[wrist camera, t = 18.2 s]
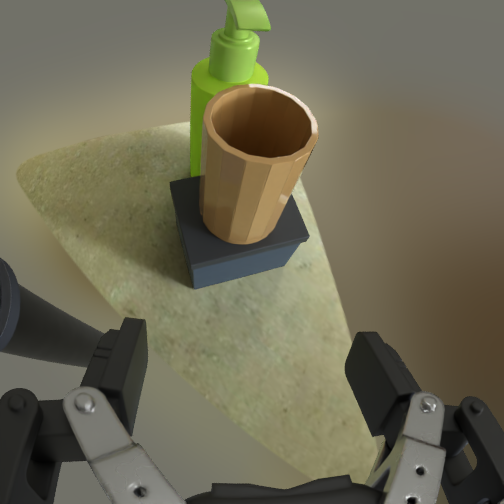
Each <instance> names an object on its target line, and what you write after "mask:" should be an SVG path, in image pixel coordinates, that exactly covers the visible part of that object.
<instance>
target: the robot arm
mask: <svg viewBox="0 0 504 504" xmlns="http://www.w3.org/2000/svg"><path fill="white" fill-rule="evenodd" d="M1 297H2V295H1V284H0V307H1ZM147 363H148V346H147V330H146V321H145V320H144V319H136V318H128V317H125V318H124V321H123V323H122V326H121V328H120V330H114V329H110V330H109V331H108V332H107V333H105V334H104V335H103V336H102V337H101V339H100V341H99V343H98V345H97V349H96V350H95V352H94V354H93V357H92V359H91V361H90V363H89V366H88V368H87V370H86V373H85V375H84V377H83V380H82V382H81V385H80V387H78V388H75V389H73V390H71V391H70V392H68V393H67V394H66V396H65V397H64V399H61V400H45V401H38V400H37V398H36V396H35V395H34V394H33V393H32V392H31V391H29V390H27V389H23V388H16V389H12V390H10V391H8V392H6V393H5V394H4V395H3V396H2V397H1V399H0V504H53V502H54V497H55V492H56V486H57V481H58V477H59V472H60V467H61V463H62V462H68V461H69V462H72V461H87V462H88V463H89V465H90V467H91V469H92V471H93V473H94V474H95V476H96V478H97V480H98V481H99V483H100V485H101V487H102V488H103V490H104V491H105V493H106V495H107V496H108V498H109V500H110V501H111V503H112V504H436V500H437V496H438V491H439V487H440V483H441V485H442V487H443V490H444V492H445V495H446V497H447V500H448V502H449V504H504V432H503V430H502V428H501V427H500V425H499V424H498V422H497V420H496V419H495V417H494V416H493V414H492V413H491V411H490V410H489V408H488V407H487V405H486V404H485V403H484V402H483V401H482V400H480V399H478V398H476V397H472V396H469V397H465V398H464V399H463V400H462V402H461V403H460V405H459V406H449V405H444V404H443V402H442V401H441V400H440V398H439V397H437V396H436V395H434V394H432V393H429V392H425V391H422V390H421V389H420V387H419V386H418V384H417V382H416V381H415V379H414V378H413V376H412V375H411V373H410V372H409V370H408V369H407V368H406V365H405V364H404V362H402V359H401V358H400V356H399V355H398V353H397V352H396V351H395V350H394V349H393V348H392V347H391V346H389V345H388V344H385V343H384V342H383V340H382V339H381V337H380V336H379V334H378V333H377V332H358V333H357V334H356V336H355V338H354V341H353V343H352V346H351V349H350V351H349V354H348V357H347V359H346V362H345V375H346V377H347V380H348V382H349V384H350V386H351V389H352V391H353V393H354V395H355V398H356V400H357V402H358V405H359V407H360V409H361V411H362V414H363V416H364V418H365V421H366V423H367V425H368V428H369V430H370V432H371V435H372V437H374V436H379V435H384V437H385V440H384V441H383V442H382V445H381V447H380V450H379V452H378V455H377V458H376V460H375V463H374V465H373V468H372V470H371V472H370V475H369V477H368V479H367V481H366V483H365V484H364V485H363V484H358V483H352V481H351V478H350V475H342V476H336V477H329V478H321V479H317V480H314V481H311V482H308V483H305V484H302V485H299V486H296V487H293V488H290V489H276V488H271V487H264V486H259V485H253V484H227V483H212V489H211V492H205V493H201V494H198V495H195V496H192V497H190V498H187V499H185V500H183V499H182V497H181V496H180V495H179V494H178V493H177V492H176V490H175V489H174V488H173V487H172V485H171V484H170V483H169V482H168V480H167V479H166V478H165V477H164V475H163V474H162V473H161V471H160V470H159V469H158V467H157V466H156V465H155V464H154V462H153V461H152V459H151V458H150V457H149V455H148V454H147V453H146V451H145V450H144V449H143V448H142V446H141V445H139V444H138V443H137V444H135V443H134V442H133V440H132V439H131V437H130V436H132V433H133V428H134V423H135V418H136V414H137V409H138V404H139V399H140V395H141V391H142V386H143V382H144V377H145V373H146V368H147ZM468 442H469V444H470V446H471V448H472V450H473V452H474V454H475V456H476V458H477V466H476V468H475V470H474V471H473V469H472V467H471V465H470V463H469V461H468V459H467V457H466V455H465V453H464V451H463V448H464V447H465V446H466V445H467V443H468Z"/></svg>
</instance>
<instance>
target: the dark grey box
mask: <svg viewBox="0 0 504 504" xmlns="http://www.w3.org/2000/svg"><path fill="white" fill-rule="evenodd" d="M170 190H171V195H172V199H173V203H174V207H175V213H176V222H177V227H178V231H179V235H180V239H181V243H182V247H183V251H184V255H185V258H186V262H187V266H188V270H189V273H190V277H191V281H192V284H193V288H194V289H198V288H202V287H206V286H210V285H214V284H218V283H222V282H225V281H229V280H233V279H237V278H241V277H244V276H248V275H252V274H256V273H259V272H263V271H267V270H271V269H274V268H278V267H282V266H285V264H286V263H287V261H288V260H289V259H290V257H291V256H292V254H293V253H294V252H295V250H296V249H297V247H298V246H299V245H300V243H302V242H306V241H307V239H308V238H309V234H308V231H307V229H306V226H305V224H304V221H303V219H302V217H301V214H300V212H299V210H298V207H297V205H296V203H295V200H294V198H293V196H292V194H291V196H290V198H289V200H288V202H287V204H286V206H285V208H284V210H283V212H282V214H281V217H280V218H279V220H278V222H277V224H276V226H275V228H274V229H273V231H272V232H271V233H270V234H269V235H268V236H267V237H265V238H264V239H262V240H260V241H258V242H255V243H251V244H233V243H229V242H226V241H224V240H221V239H220V238H218V237H216V236H215V235H214V234H212V233H211V232H210V231H209V230H208V228H207V227H206V226H205V224H204V222H203V220H202V217H201V213H200V206H199V201H200V176H196V177H191V178H186V179H181V180H176V181H172V182H170Z"/></svg>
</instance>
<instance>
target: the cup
mask: <svg viewBox="0 0 504 504" xmlns="http://www.w3.org/2000/svg"><path fill="white" fill-rule="evenodd" d="M317 140H318V124H317V121H316V119H315V117H314V116H313V114H312V112H311V111H310V109H309V108H308V107H307V106H306V105H305V104H304V103H302V102H301V101H300V100H299V99H298V98H297V97H295V96H294V95H292V94H290V93H287V92H285V91H283V90H281V89H278V88H276V87H272V86H267V85H261V84H243V85H236V86H232V87H230V88H227V89H225V90H222V91H220V92H218V93H217V94H216V95H215V96H214V97H213V98H212V99H211V100H210V101H209V102H208V103H207V104H206V108H205V112H204V116H203V125H202V145H201V169H200V201H199V206H200V213H201V217H202V220H203V222H204V224H205V226H206V227H207V228H208V230H209V231H210V232H211V233H212V234H214V235H215V236H216V237H218V238H220V239H221V240H224V241H226V242H229V243H233V244H251V243H255V242H258V241H260V240H262V239H264V238H265V237H267V236H268V235H269V234H270V233H271V232H272V231H273V229H274V228H275V226H276V224H277V222H278V220H279V218H280V217H281V214H282V212H283V210H284V208H285V206H286V204H287V202H288V200H289V198H290V196H291V194H292V192H293V190H294V188H295V186H296V184H297V182H298V180H299V177H300V175H301V173H302V171H303V169H304V167H305V165H306V163H307V161H308V159H309V157H310V155H311V153H312V151H313V148H314V146H315V144H316V142H317Z"/></svg>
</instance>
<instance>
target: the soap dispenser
mask: <svg viewBox="0 0 504 504" xmlns="http://www.w3.org/2000/svg"><path fill="white" fill-rule="evenodd" d="M225 2H226V4H227V5H228V9H227V16H226V23H225V28H221V29H218V30H216V31H215V32H214V33H213V34H212V38H211V48H210V57H208V58H206V59H204V60H202V61H200V62H199V63H198V64H197V65H195V67H194V68H193V70H192V76H191V77H192V78H191V119H190V173H191V177H196V176H200V169H201V145H202V125H203V116H204V112H205V108H206V104H207V103H208V102H209V101H210V100H211V99H212V98H213V97H214V96H215V95H216V94H217V93H218V92H220V91H222V90H225V89H227V88H230V87H232V86H236V85H243V84H261V85H268V75H267V72H266V71H265V69H263V67H262V66H260V65H259V64H258V63H256V58H257V53H258V48H259V44H260V39H259V37H258V35H257V34H255V33H254V32H252V31H269V30H270V29H271V26H270V23H269V20H268V17H267V14H266V12H265V10H264V8H263V6H262V4H261V3H260V1H259V0H225Z"/></svg>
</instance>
